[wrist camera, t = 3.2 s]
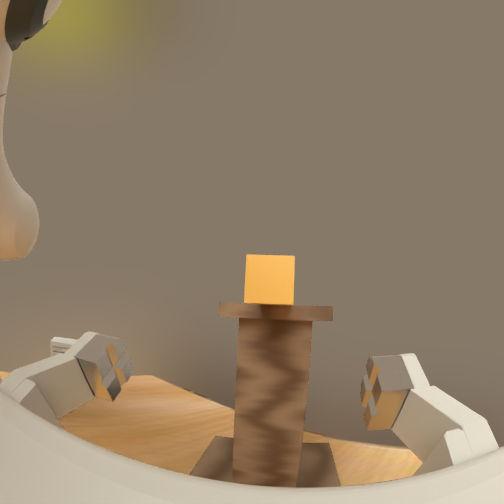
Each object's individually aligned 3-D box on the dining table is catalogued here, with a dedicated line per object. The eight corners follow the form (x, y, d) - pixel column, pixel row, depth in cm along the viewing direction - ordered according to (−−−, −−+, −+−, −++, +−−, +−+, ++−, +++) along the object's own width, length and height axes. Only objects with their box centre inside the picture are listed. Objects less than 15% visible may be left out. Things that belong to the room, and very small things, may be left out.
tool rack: (183, 491, 26) (184, 299, 31) (215, 442, 42) (220, 303, 47) (340, 503, 23) (369, 306, 28) (327, 449, 40) (341, 307, 45)
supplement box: (55, 380, 56) (54, 336, 59) (80, 384, 60) (79, 339, 62) (52, 389, 50) (49, 340, 52) (79, 392, 54) (77, 344, 56)
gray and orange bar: (244, 302, 20) (246, 254, 21) (269, 305, 45) (270, 284, 46) (293, 304, 19) (294, 255, 20) (291, 306, 45) (292, 285, 45)
